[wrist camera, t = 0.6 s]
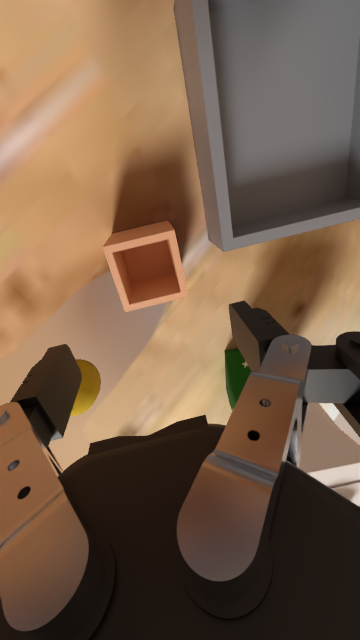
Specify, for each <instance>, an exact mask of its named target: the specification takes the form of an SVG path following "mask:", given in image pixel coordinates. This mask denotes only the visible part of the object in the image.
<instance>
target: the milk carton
mask: <svg viewBox="0 0 360 640" xmlns="http://www.w3.org/2000/svg"><path fill="white" fill-rule="evenodd" d="M225 370H226V390H227V394H228V398H229V403H230V406H231V409H232V411H233V410H234V407H235V405H236V403H237V401H238V399H239V397H240V394H241V392H242V390H243V388H244V386H245V384H246V381H247V379H248V377H249V375H250V373H251V372H252V371H251V369H250V368H249V366H248V364H247V363H246V361H245V359H244V357H243V356H242V354H241V352H240V351H239V349H233V350H227V351H225ZM299 469H301V470H303V471H304V472H306V473H307V474H309V475H310V476H312V477H314V478H315V479H317V480H318V481H320V482H321V483H323V484H325V485H326V486H328V487H329V488H331V489H332V490H334V491H336V492H337V493H339V494H340V495H342V496H343V497H345V498H347V499H348V500H350V501H351V502H353V503H354V504H356V505H358V506H359V505H360V445H358V444H357V443H356V442H355V441H354V440H353V439H351V438H350V437H349V436H348V435H347V434H345V433H344V432H343V431H342V430H340V429H339V427H338V426H337V425H336V424H335V423H334V422H333V420H332V419H331V418H330V417H329V415H328V414H327V413H326V412H325V410H324V409H323V408H322V407H321V406H320V404H319V403H309V408H308V413H307V418H306V424H305V429H304V434H303V440H302V447H301V457H300V465H299Z"/></svg>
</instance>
